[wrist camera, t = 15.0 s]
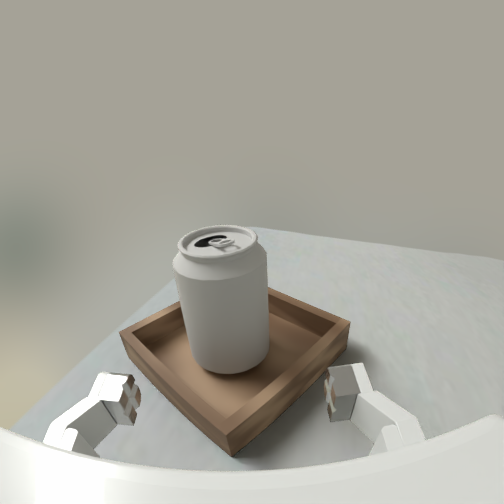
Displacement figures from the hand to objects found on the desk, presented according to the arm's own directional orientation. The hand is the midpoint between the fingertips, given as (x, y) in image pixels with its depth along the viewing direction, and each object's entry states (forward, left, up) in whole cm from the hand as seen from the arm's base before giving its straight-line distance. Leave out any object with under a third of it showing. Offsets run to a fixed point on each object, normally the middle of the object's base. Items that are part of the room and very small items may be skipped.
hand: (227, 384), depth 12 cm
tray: (-9, -11, -12) cm, 18 cm away
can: (-9, -11, -11) cm, 18 cm away
